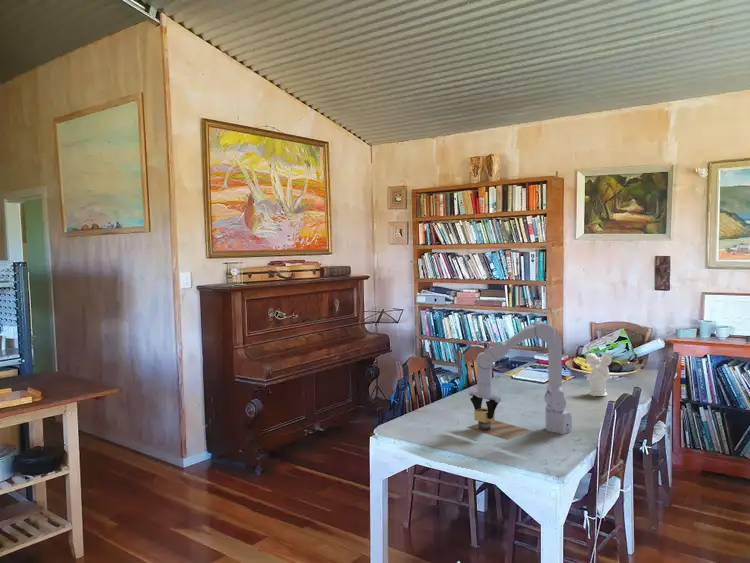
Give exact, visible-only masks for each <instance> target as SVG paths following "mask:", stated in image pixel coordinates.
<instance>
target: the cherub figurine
mask: <svg viewBox="0 0 750 563" xmlns="http://www.w3.org/2000/svg"><path fill="white" fill-rule="evenodd" d="M585 361H586V362H587V364H588V365H589V366H590V368H592V369H591V372H590V373H589V375H588V376H587V378H586V381H587V382H589V387H590V389H589V391H588V392H587V394H588V395H589V396H592V397H595V396H605V397H607V396H608V393H607V390H606V388H607V381H608V380H610V369H609V366H610V365H611V364H612V354H611V352H610V351H609V352H606V353H604V354H602V355H601V356H600V357H598V356H597V354H595V353H594V352H590V353H589V352H588V353H587V354H586V356H585Z"/></svg>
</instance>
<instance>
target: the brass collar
mask: <svg viewBox="0 0 750 563" xmlns="http://www.w3.org/2000/svg"><path fill="white" fill-rule="evenodd" d="M473 411H474V415H473V416H474V417H473V418H474V421H477V422H478V421H480V422H483V423H488V422H491V421H494V420H495V419H496V418H495V414H496V412H494V415H493V418H492V419H489V418H488V409H487V407H481V408H480V409H476V410H475V409H474V410H473Z"/></svg>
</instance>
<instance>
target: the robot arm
mask: <svg viewBox="0 0 750 563" xmlns="http://www.w3.org/2000/svg"><path fill="white" fill-rule="evenodd" d="M537 338H538V339H539V340H542V341H544V343H545V344H546V345H547V346H548V347H547V348H548V350H547V351H548V355H547V356H548V359H547V361H548V366H547V367H548V368H547V369H548V370H547V371H548V373H547V375H548V376H547V377H548V379H547V380H548V382H547V386H546V393H545V394H544V396H543V398H544V401H545V403H546V406H545V430H546V431H547V432H551V433H557V434H561V435H566V434H567V433H570V432H572V430H573V428H572V426H573V425H572V424H573V421H572V419H573V418H572V414H571V413H570V412H568V411H566V407H567V400H566V399H565V396H564V395H565V394H564V390H563V389H564V388H563V387H562V386H563V385H562V383H563V382H562V381H563V378H562V377H563V375H562V373H563V372H562V370H563V368H562V367H563V365H562V364H563V362H562V358H563V356H562V355H563V351H562V350H563V349H562V348H563V345H562V344H563V341H562V339H561V338H560V336H559V335H558V333H557V332H556V330H555V328H554V327H552V326H551V325H550V324H548V323H546V322H544V321H542V320H536V321H534V322H533V323H530V324H528V325H527V326H525V327H524V328H522V329H521V330H519V331H518V332H517V333H516V334H514V335H512V336H511V337H510V338H508V339H506V341H501V340H499V342H498V341H495V342H494V345H492V346H490V347H488V348H485V349H484V352H483V351H482V352H479V353H478V354H477V356H476V358H475V361H476V363H477V366H476V370H477V371H476V390H474V389H472V390H471V389H470V390H469V391H468V396H470V398H469V399H470V401H471V404H472V405H473V407H474V408H473V409H474V410H476V409H480V408H482V406H483V405H482V403H483V399H484V400H487V401H485V404H486V408H487V409H488V418H489V419H492V418H493V415H494V412H495V411H496V408H497V407H498V405H499V403H500V402H501V401H502V399H501V396H500V395H496V394H494V393H492V392H493V390H492V389H493V388H492V387H493V385H492V384H493V380H492V378H493V377H492V376H493V372H492V366H493V364H494V363H496V362H497V361H499V360H500V359H502V358H504V357H505V356H507V355H508V354H509V352H510V349H512V348H513V347H516V346H518V345H519V344H521V343H522V342H524V341H525V340H527V339H528V340H529V339H530V340H531V339H532V340H537ZM495 413H496V412H495Z"/></svg>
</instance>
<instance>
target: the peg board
mask: <svg viewBox="0 0 750 563" xmlns="http://www.w3.org/2000/svg"><path fill="white" fill-rule="evenodd" d="M477 422H478V423H476V424H472V425H469V426H466V428H467V429H470V430H473V431H476V432H480V433H483V434H487V435H489V436H493V437H497V438H500V439H503V440H505V441H508V440H510V439H513V438H515V437H518V436H522V435H525V434H527V433H530V432H532V431H533V430H532V429H528V428H525V427H524V428H523V427H521V426H517V425H514V424H510V423H508V422H507V423H506V422H503V421H499V420H494V421H491V422H488V423H483V422H480V421H477Z"/></svg>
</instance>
